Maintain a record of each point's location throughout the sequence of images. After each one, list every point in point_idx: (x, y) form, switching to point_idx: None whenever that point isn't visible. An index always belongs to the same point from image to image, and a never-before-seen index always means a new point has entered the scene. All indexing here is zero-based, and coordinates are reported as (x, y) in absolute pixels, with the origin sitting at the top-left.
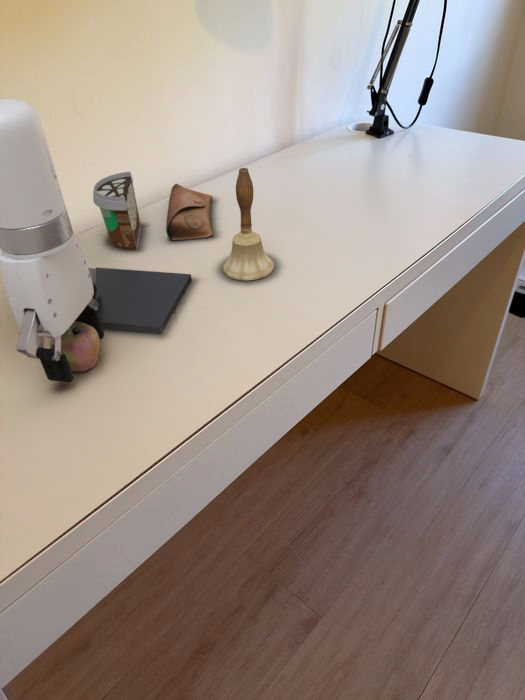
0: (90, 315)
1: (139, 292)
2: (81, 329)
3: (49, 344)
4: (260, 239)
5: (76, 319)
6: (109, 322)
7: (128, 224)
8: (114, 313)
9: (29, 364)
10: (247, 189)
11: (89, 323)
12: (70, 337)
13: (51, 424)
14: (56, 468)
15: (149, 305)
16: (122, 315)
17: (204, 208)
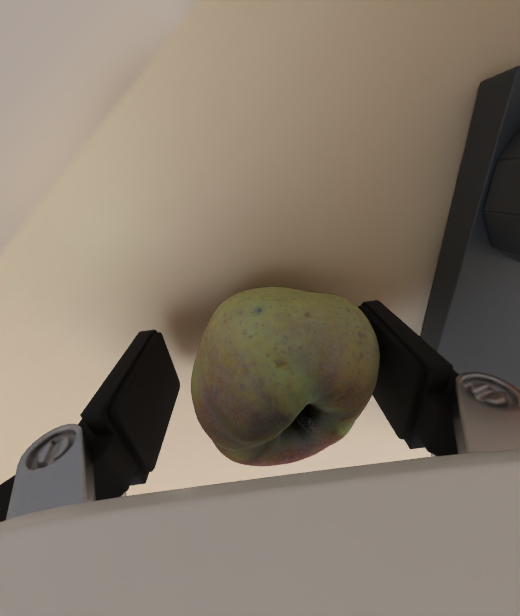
0: (405, 431)
1: None
2: (314, 434)
3: (216, 340)
4: None
5: (399, 355)
6: (444, 329)
7: None
8: (494, 319)
9: (217, 157)
10: None
11: (384, 386)
12: (241, 453)
13: (67, 374)
14: (2, 435)
15: (516, 383)
16: (478, 344)
17: None
